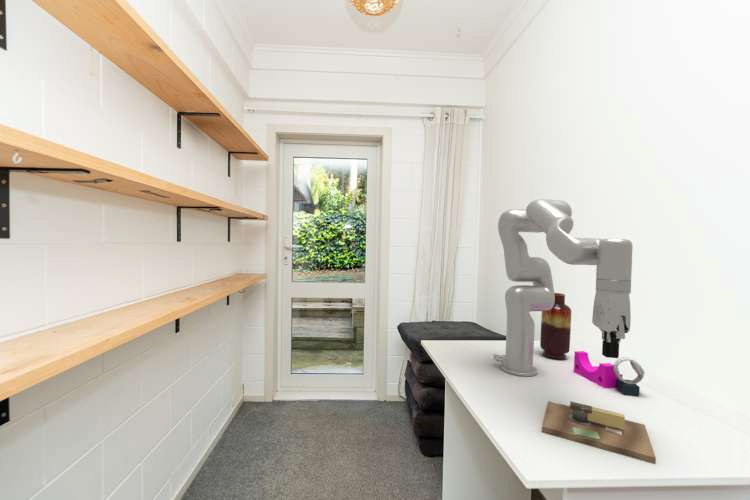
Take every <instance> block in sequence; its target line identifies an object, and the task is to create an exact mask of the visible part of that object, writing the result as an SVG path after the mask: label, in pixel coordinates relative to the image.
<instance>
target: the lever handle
mask: <svg viewBox="0 0 750 500" xmlns="http://www.w3.org/2000/svg"><path fill="white" fill-rule="evenodd" d="M569 402H570V404H569V406H570V409H573V412H572V418H573V419H574V420H576V421H579V422H583V423H587V422H588V421H592V422H596V423H600V424H604V425H608V426H612V427H616V428H619V429H623V430H624V424H625V420H626V417H625V414H624V413H619V412H616V411H612V410H607V409H602V408H599V407H595V406H591V405H587V404H582V403H578V402H576V401H575V402H574V401H571V400H570V401H569Z"/></svg>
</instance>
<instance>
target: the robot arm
mask: <svg viewBox="0 0 750 500" xmlns="http://www.w3.org/2000/svg"><path fill="white" fill-rule="evenodd" d="M572 213H573V211H572V207H571V205H570V204H569V203H568V202H567V201H565V200H561V199H545V198H544V199H543V198H540V199H538V198H537V199H534V200H532V201H530V203H528V204H527V206H526V208H523V209H522V208H521V209H520V208H515V209H508V210H505V211H504V212H502V213H501V215H500V216H499V219H498V222H497V230H498V231H497V232H498V235H499V239H500V241H501V245H502V249H503V256H504V262H505V263H504V264H505V272H506V276H507V278H508V280H509V281H511V282H515V283H532V285H531V284H530V285H529V284H528V285H527V284H526V285H525V284H524V285H521V284H520V285H519V284H518V285H517V284H516V285H514V286H510V287H509V288H507V289H506V291H505V293H504V302H505V307H506V334H505V335H506V336H505V354H502V355H500V354H496V353H494V354H493V358H492V359H494V361H495V362H499V363H500V369H501V370H502V371H504V372H506V373H508V374H510V375H514V376H518V377H534V376H536V375H537V374H538V368H537V367H535V366H534V350H535V349H534V348H535V347H534V344H535V343H534V342H535V322H534V320H533V318H532V316H531V314H530V313H531V312H542V311H548V310H550V309H552V307H553V306H554V303H555V295H554V293H555V289H554V281H553V275H552V269H551V267H550V264H549V263H548V261H547V260H546V259H544V258H542V257H539V256H538V257H536V256H534V257H533V256H530V255H529V251H528V249H529V248H528V245H527V242H526V241H525V240H524V237H522V235H521V234H519V233H544V234H545V242H546V246H547V249H548V250H549V252H550V253H552V254H553V255H554V256H555V257H556V258H557V259H558V260H560V261H561V262H563V263H564V264H567V265H573V266H580V265H581V266H596V269H595V270H596V271H595V273H596V274H595V275H596V276H595V294H594V298H593V299H594V300H593V307H592V320H591V321H592V324H593V326H595V327H597V328H598V329H599V330H600V331H601V340H602V345H601V346H602V347H601V355H602V356H603V357H605V358H610V359H613V358H614V359H619V358H620V357H619V356H620V343H621V340H625V339H626V335H625V334H627V333H629V332H630V330H631V298H630V295H631V294H632V293H631V291H632V273H633V269H632V268H633V267H632V265H633V243H632V240H630V239H625V238H593V237H572V236H571V235H570V233H571V232H572V230H573V228H574V220H573V218H572Z"/></svg>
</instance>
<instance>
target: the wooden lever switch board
mask: <svg viewBox="0 0 750 500" xmlns="http://www.w3.org/2000/svg"><path fill="white" fill-rule="evenodd" d="M572 412H573V409H570V405H566V404H561V403H557V402H553V401H550V400H548V401H547V404H546V409H545V413H544V417H543V421H542V425H541V433H544V434H548V435H551V436H555V437H559V438H562V439H565V440H569V441H573V442H577V443H579V444H583V445H587V446H591V447H593V448H597V449H602V450H605V451H608V452H613V453H616V454H619V455H623V456H626V457H629V458H633V459H637V460H640V461H645V462H646V463H651V464H656V463H657V462H656V460H657V458H656V455H655V452H654V448H653V445H652V442H651V440H650V439H651V438H650V437H649V433H648V430H647V427H646V425H645V424H644V423H639V422H636V421H632V420H628V419H625V424H624V430H623V429H619V428H616V427H612V426H608V425H604V424H600V423H596V422H592V421H588V422H587V423H583V422H579V421H576V420H574V419H573V418H572Z"/></svg>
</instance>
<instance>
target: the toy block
mask: <svg viewBox="0 0 750 500" xmlns="http://www.w3.org/2000/svg"><path fill="white" fill-rule="evenodd" d="M573 356H574V357H573V372H574V373H576V374H578V375H579V376H581V377H583V378H585V379H587V380H589V381H590V382H592V383H594V384H596V385H597V386H599V387H602V388H604V389H616V379H619V378H618V377H617V376H616V374H615V372H614V369H613V368H614V364H612V363H610V362H607V363H606V362H604V363H603V362H601V363H599V365H598V366H597V365H596V366H594V365H592V363H591V361H590V359H589V352H587V351H584V350H583V351H582V350H579V351H578V350H577V351H576V350H575V351H574V355H573ZM620 375H621V377H622V378H623V374H621V373H620Z"/></svg>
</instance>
